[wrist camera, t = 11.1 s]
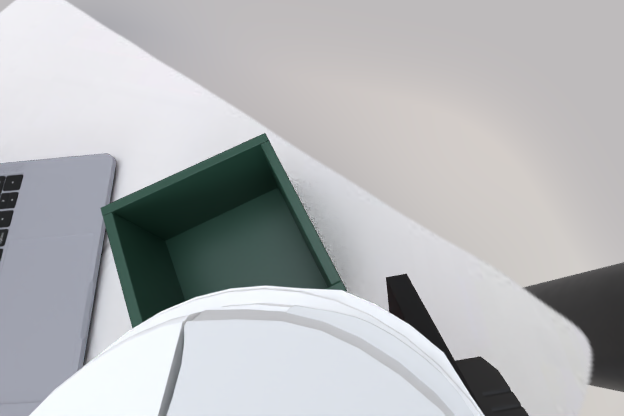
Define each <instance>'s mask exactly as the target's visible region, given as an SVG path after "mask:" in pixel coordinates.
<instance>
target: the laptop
mask: <svg viewBox="0 0 624 416" xmlns="http://www.w3.org/2000/svg"><path fill="white" fill-rule="evenodd" d="M115 167H116V159H115V158H114V157H113V156H111V155H110V154H107V153H104V154H94V155H83V156H72V157H62V158H51V159H41V160H30V161H19V162H9V163H0V416H29V415H30V414H31V413H32V412H33V411H34V410H35V409H36V408H37V407H38V406H39V405H40V404H41V403H42V402H43V401H44V400H45V399H46V398H47V397H48V396H49V395H50V394H51V393H52V392H53V391H54V390H55V389H56V388H57V387H58V386H60V385H61V384H62V383H63V382H65V381H66V380H67V379H68V378H70V377H71V376H72V375H73V374H75V373H76V372H77V371H78V370H80V369H81V368H82V367H83V362H84V356H85V350H86V344H87V338H88V332H89V326H90V319H91V313H92V307H93V301H94V295H95V289H96V283H97V277H98V271H99V265H100V259H101V253H102V246H103V240H104V234H105V228H106V227H105V223H104V219H103V216H102V213H101V209H100V208H101V207H103V206H106V205H108V204H110V198H111V192H112V186H113V179H114V173H115Z"/></svg>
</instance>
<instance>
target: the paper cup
mask: <svg viewBox="0 0 624 416" xmlns="http://www.w3.org/2000/svg"><path fill="white" fill-rule="evenodd" d="M29 416H484V414H483V413H482V411H481V410H480V408H479V407H478V405H477V404H476V402H475V401H474V400H473V398H472V397H471V395H470V394H469V392H468V390H467V389H466V387H465V386H464V384H463V382H462V381H461V379H460V378H459V376H458V375H457V373H456V371H455V370H454V368H453V367H452V365H451V363H450V362H449V360H448V359H447V357H446V355H445V354H444V353H443V352H442V351H441V350H440V349H439V348H437V347H436V346H435V345H434V344H433V343H431V342H430V341H429V340H428V339H427V338H425V337H424V336H423V335H422V334H421V333H419V332H418V331H417V330H416V329H414V328H413V327H412V326H411V325H409V324H408V323H406V322H404V321H403V320H401V319H399V318H398V317H396V316H394V315H393V314H391V313H389V312H388V311H386V310H385V309H383V308H381V307H380V306H378V305H376V304H374V303H371V302H369V301H367V300H364V299H362V298H359V297H357V296H355V295H352V294H350V293H347V292H345V291H343V290H328V289H303V288H290V287H277V286H255V287H243V288H231V289H227V290H223V291H219V292H214V293H210V294H206V295H202V296H198V297H195V298H192V299H190V300H188V301H185V302H183V303H180V304H178V305H175V306H173V307H171V308H168V309H166V310H163V311H161V312H159V313H158V314H156V315H154V316H153V317H151V318H149V319H148V320H146V321H144V322H143V323H141V324H139V325H138V326H136V327H134V328H133V329H131V330H129V331H128V332H126V333H125V334H124V335H123V336H121V337H120V338H119V339H118V340H116V341H115V342H114V343H113V344H111V345H110V346H109V347H108V348H106V349H105V350H104V351H103V352H101V353H100V354H99V355H98V356H96V357H95V358H94V359H92V360H91V361H90V362H88V363H87V364H86V365H85V366H83V367H82V368H81V369H80V370H78V371H77V372H76V373H75V374H73V375H72V376H71V377H70V378H68V379H67V380H66V381H65V382H63V383H62V384H61V385H60V386H58V387H57V388H56V389H55V390H54V391H53V392H52V393H51V394H50V395H49V396H48V397H47V398H46V399H45V400H44V401H43V402H42V403H41V404H40V405H39V406H38V407H37V408H36V409H35V410H34V411H33V412H32V413H31V414H30V415H29Z"/></svg>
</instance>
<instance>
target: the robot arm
mask: <svg viewBox="0 0 624 416" xmlns="http://www.w3.org/2000/svg"><path fill="white" fill-rule="evenodd" d="M386 282H387V292H388V302H389V313H391V314H393V315H394V316H396V317H398V318H399V319H401V320H403V321H404V322H406V323H408V324H409V325H411V326H412V327H413V328H414V329H416V330H417V331H418V332H419V333H421V334H422V335H423V336H424V337H425V338H427V339H428V340H429V341H430V342H431V343H433V344H434V345H435V346H436V347H437V348H439V349H440V350H441V351H442V352H443V353H444V354H445V355H446V357H447V359H448V360H449V362H450V363H451V365H452V367H453V368H454V370H455V371H456V373H457V375H458V376H459V378H460V379H461V381H462V382H463V384H464V386H465V387H466V389H467V390H468V392H469V394H470V395H471V397H472V398H473V400H474V401H475V402H476V404H477V405H478V407H479V408H480V410H481V411H482V413H483V414H484V416H529V415H528V414H527V412H526V411H525V409H524V408H523V407H521V404H520V402H519V401H518V399H517V398H516V396H515V395H514V393H513V392H511V390H510V387H509V386H508V384H507V383H506V381H505V380H504V379H503V377H502V376H501V374H500V373H499V371H498V370H497V369H496V368H494V367H493V366H492V365H491V364H489V363H488V362H487V361H486V360H484V359H483V358H482V357H481V356H480V357H475V358H469V359H464V360H458V361H455V360H454V359H453V357H452V355H451V353H450V351H449V350H448V348H447V346H446V344H445V342H444V341H443V339H442V337H441V335H440V333H439V332H438V330H437V328H436V326H435V324H434V323H433V321H432V319H431V317H430V315H429V314H428V312H427V310H426V308H425V306H424V305H423V303H422V301H421V299H420V297H419V296H418V294H417V292H416V290H415V288H414V287H413V285H412V283H411V281H410V279H409V278H408V276H407V274H403V275H397V276H392V277H386Z"/></svg>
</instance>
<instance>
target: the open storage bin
mask: <svg viewBox="0 0 624 416" xmlns="http://www.w3.org/2000/svg"><path fill="white" fill-rule="evenodd" d="M100 209H101V213H102V216H103V219H104V223H105V227H106V230H107V234H108V238H109V242H110V245H111V249H112V253H113V257H114V260H115V264H116V268H117V272H118V275H119V279H120V283H121V287H122V290H123V294H124V298H125V302H126V305H127V309H128V313H129V317H130V320H131V324H132V328H134V327H136V326H138V325H139V324H141V323H143V322H144V321H146V320H148V319H149V318H151V317H153V316H154V315H156V314H158V313H159V312H161V311H163V310H166V309H168V308H171V307H173V306H175V305H178V304H180V303H183V302H185V301H188V300H190V299H192V298H195V297H198V296H202V295H206V294H210V293H214V292H219V291H223V290H227V289H231V288H243V287H255V286H277V287H290V288H303V289H328V290H343V291H345V292H346V288H345V286H344V284H343V282H342V281H341V278H340V276H339V274H338V273H337V271H336V269H335V267H334V265H333V263H332V261H331V259H330V257H329V255H328V253H327V251H326V249H325V248H324V246H323V244H322V242H321V240H320V238H319V236H318V234H317V232H316V230H315V228H314V226H313V224H312V222H311V221H310V219H309V217H308V215H307V213H306V211H305V209H304V207H303V205H302V203H301V201H300V199H299V197H298V195H297V194H296V192H295V190H294V188H293V186H292V184H291V182H290V180H289V178H288V176H287V174H286V172H285V170H284V169H283V167H282V165H281V163H280V161H279V159H278V157H277V155H276V153H275V151H274V149H273V147H272V145H271V143H270V142H269V140H268V138H267V136H266V134H265V133H264V134H262V135H260V136H257V137H255V138H253V139H251V140H249V141H246V142H244V143H242V144H240V145H238V146H235V147H233V148H231V149H229V150H227V151H224V152H222V153H220V154H218V155H216V156H213V157H211V158H209V159H207V160H205V161H202V162H200V163H198V164H196V165H194V166H191V167H189V168H187V169H185V170H183V171H180V172H178V173H176V174H174V175H172V176H169V177H167V178H165V179H163V180H161V181H158V182H156V183H154V184H152V185H150V186H147V187H145V188H143V189H141V190H139V191H136V192H134V193H132V194H130V195H128V196H125V197H123V198H121V199H119V200H117V201H114V202H112V203H110V204H108V205H106V206H103V207H101V208H100Z"/></svg>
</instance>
